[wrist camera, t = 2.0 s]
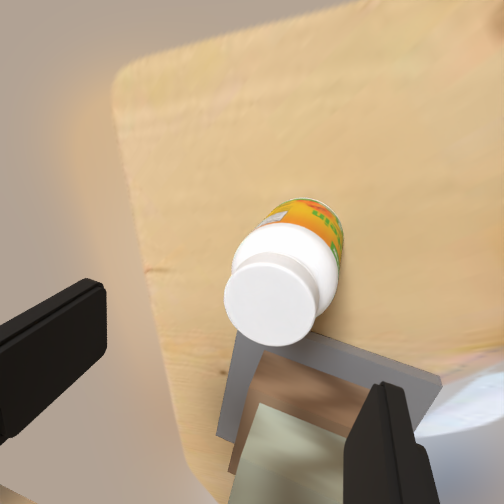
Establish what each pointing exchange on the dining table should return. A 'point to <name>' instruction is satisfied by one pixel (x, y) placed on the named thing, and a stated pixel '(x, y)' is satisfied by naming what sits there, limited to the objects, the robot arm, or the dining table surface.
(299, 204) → the supplement bottle
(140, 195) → the dining table surface
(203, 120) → the dining table surface
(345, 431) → the two-tone block stack
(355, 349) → the baseplate
